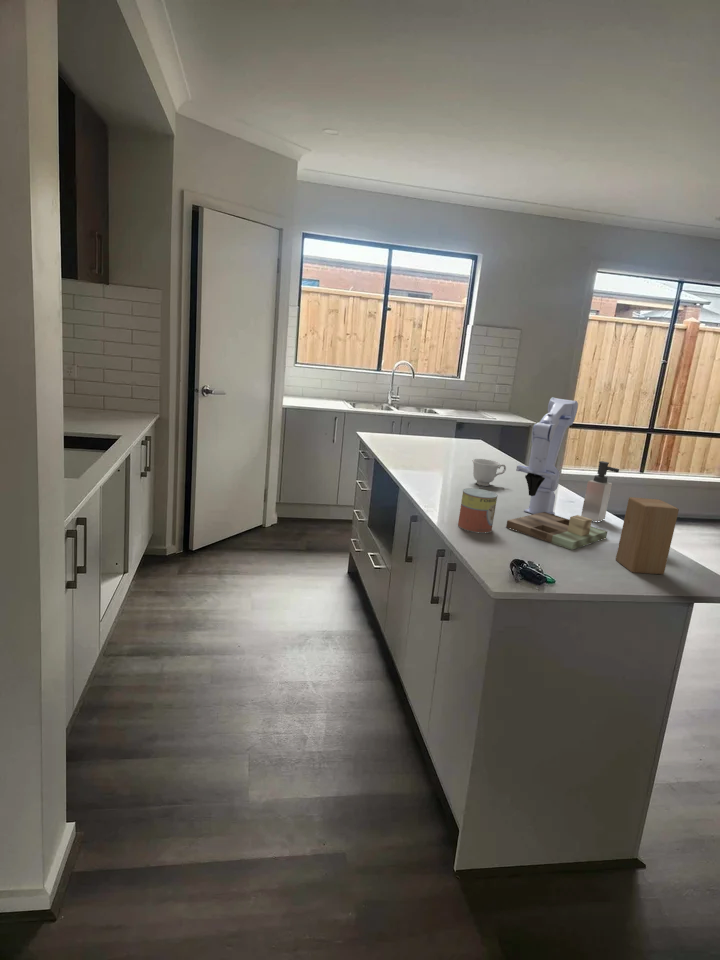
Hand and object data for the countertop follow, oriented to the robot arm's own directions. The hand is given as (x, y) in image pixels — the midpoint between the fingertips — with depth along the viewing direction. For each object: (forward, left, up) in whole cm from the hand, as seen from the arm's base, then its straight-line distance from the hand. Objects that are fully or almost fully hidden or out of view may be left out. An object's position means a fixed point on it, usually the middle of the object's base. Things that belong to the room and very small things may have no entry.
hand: (531, 495), depth 218 cm
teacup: (-33, -41, -10) cm, 53 cm away
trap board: (+3, +13, -9) cm, 16 cm away
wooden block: (+10, +44, -10) cm, 46 cm away
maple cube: (+3, +21, -7) cm, 22 cm away
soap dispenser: (-28, +12, -10) cm, 32 cm away
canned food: (+26, -4, -10) cm, 28 cm away
